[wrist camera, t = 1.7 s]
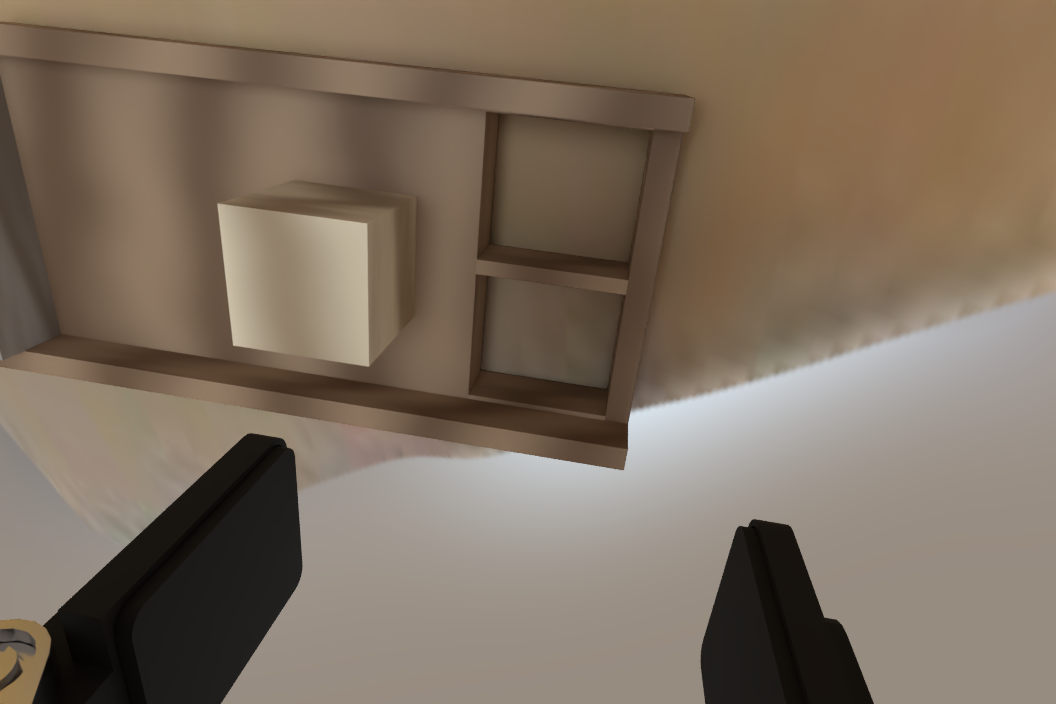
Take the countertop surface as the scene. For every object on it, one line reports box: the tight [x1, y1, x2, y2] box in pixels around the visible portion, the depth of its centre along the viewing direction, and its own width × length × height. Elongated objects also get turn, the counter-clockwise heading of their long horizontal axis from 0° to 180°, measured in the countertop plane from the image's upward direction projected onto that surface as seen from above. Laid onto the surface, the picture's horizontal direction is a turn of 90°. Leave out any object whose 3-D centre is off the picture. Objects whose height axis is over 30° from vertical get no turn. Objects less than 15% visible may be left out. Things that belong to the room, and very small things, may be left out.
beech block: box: [217, 180, 417, 367], centre depth 23 cm, size 5×5×5 cm
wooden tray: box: [0, 22, 695, 470], centre depth 25 cm, size 28×14×6 cm, turn 84°
